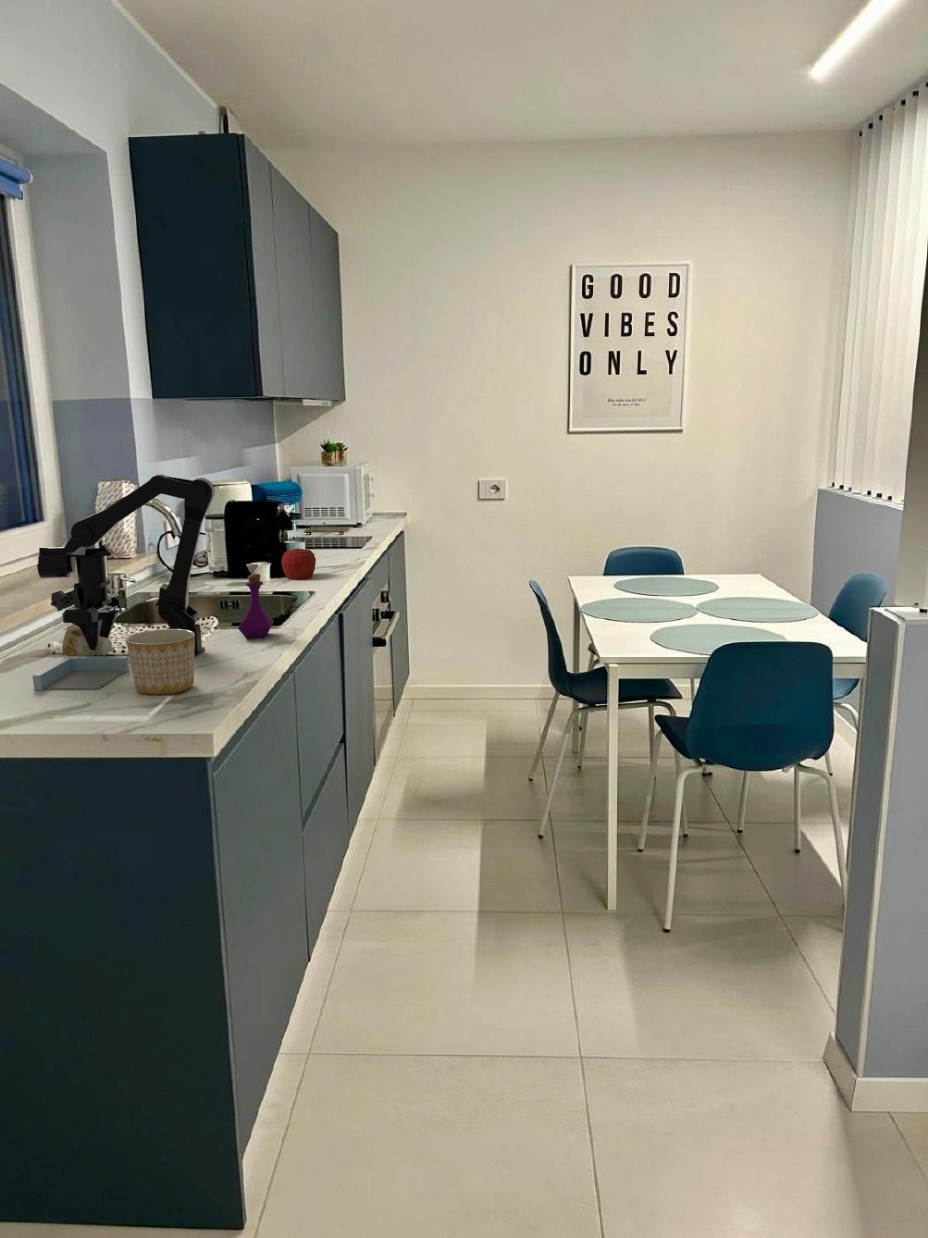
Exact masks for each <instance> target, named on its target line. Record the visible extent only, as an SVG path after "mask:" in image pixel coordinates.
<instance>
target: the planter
mask: <svg viewBox="0 0 928 1238" xmlns="http://www.w3.org/2000/svg"><path fill="white" fill-rule="evenodd" d="M126 646H127V647H126V648H127V652H128V656H129V657H128V659H129V662H130V668H131V673H132V677H133V679H132V680H133V683H134V684H133V685H134V687H135V689H136V690H137V691H138V692H139V693H140V694H144V695H150V696H162V695H163V696H164V695H170V694H171V695H172V694H178V693H181V692H184V691H186V690H188V689H190V688H191V687H192V686H193V684H194V682H195V656H194V649H195V634H194V632H192V631H189V630H183V629H168V628H165V629H164V628H163V629H162V628H161V629H153V630H144V631H141V632H136V633H133V634H131V635H129V636H127V637H126Z"/></svg>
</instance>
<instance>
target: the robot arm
mask: <svg viewBox="0 0 928 1238" xmlns="http://www.w3.org/2000/svg"><path fill="white" fill-rule="evenodd" d="M215 491H216V489H215V486H214V485H213V483H212V482H211V480H209V479H208V478H206V477H197V478H195V479H187V478H180V477H173V476H167V475H165V474H163V473H162V474H160V473H159V474H156V475H154V476H152V477H150V479H149V480H148V481H146V482H145V483H143V484H142V485H140V486H139V487H137V488H136V489H135V490H133V491H131V492H130V493H129V494H127V495H125V496H124V497H122V498H121V499H119V500H118V501H117V502H115V503H113V504H112V505H110V506H109V507H108V508H106V509H104V510H101V511H99V512H97V513H94V514H92V515H90V516H88V517H84V518H82V519H80V520H78V521H77V522H74V524H73V525H72V527H71V530H70V535H71V536H70V538H69V540H68V541H67V543H65V545H64V546H40V547H39V548H38V552H39V553H38V558H37V559H38V560H37V564H36V566H37V572H38V576H39V578H40V579H62V578H63V579H65V578H67V579H68V578H70V577H71V575H72V574H74V573H75V572H76V573H77V582H74V584H73V590H69V591H67V592H64V591H62V590H61V589H60V590H58V591H55V592H52V593H51V598H50V600H51V602H50V605H51V606H52V607H54V608H56V610H57V612H60V611H63V610H64V611H63V612H62V613H61V614H62V615H61V616H62V623H63V624H72V625H76V626H78V627H79V628H80V629H81V631H82V633H83V635H84V637H85V639H86V641H87V644H88V646H89V648H90V650H95V649H96V646H97V643H98V638H99V636H101V637H105V638H108V639H110V635H111V633H112V629H113V628H114V625H115V623H116V620H117V618H118V615H119V614H120V611H121V610H119V609H123V608H125V607H126V598H125V597H124V596H123V595H122V594H119V593H118V594H115V593H113V594H111V593H109V594H108V586H109V585H111V579H108V578H107V572H106V570H107V569H106V561H105V557H110V556H112V555H114V553H115V552H114V550H112V549H111V548H110V547H109V546H108V545H107V544H106V543H103V544H102V545H101V547H93V546H94V545H96V544H98V543H99V542H100V541H102V539H104V537H105V536H106V535H107V534H109V533H110V532H111V530H113V528H114V527H116V525H117V524H119V522H120V521H123V520H124V519H125V518H127V517H128V516H130V515H131V514H133V513H135V512H136V511H138V510H139V509H140V508H141V507H143V506H144V505H146V504H147V503H149V502H151V501H152V500H154V499H155V498H156V497H159V495H165V496H170V497H173V498H177V499H181V500H184V503H183V509H184V519H183V525H182V528H181V533H180V537H179V542H178V546H177V551H176V555H175V559H174V564H173V568H172V572H171V576H170V577H171V578H170V580H169V582H168V584H166V583H163V584H162V585H161V586H160V588H159V590H158V591H159V593H158V600H157V602H156V603H155V607H157V613H158V615H159V616H160V618H161V619H162V620H163V621H165V623H167V625H168V628H167V629H183V630H189V631H192V632H194V634H195V649H194V657H196V656H199V655H200V653H202V652H203V651H204V650H205V649H206V648H205V646H203V644H202V628H201V624H197V622H198V619H199V616H200V613H199V611H197V610H196V609H194V608H193V607H192V606H191V605H190V604H189V603H190V585H189V584H190V582H189V581H190V578H191V573H192V568H193V565H194V559H195V555H196V551H197V546H198V543H199V538H200V534H201V529H202V525H203V521H204V519H205V517H206V515H207V513H208V511H209V508H210V506H211V503H212V501H213V499H214V497H215V493H216V492H215ZM90 547H91V548H90ZM81 548H85V551H84V552H77V551H78V550H81ZM114 607H117V609H114ZM205 651H206V650H205Z"/></svg>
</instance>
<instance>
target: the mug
mask: <svg viewBox="0 0 928 1238" xmlns="http://www.w3.org/2000/svg"><path fill="white" fill-rule="evenodd" d="M63 636H64V637H63V640H62V647H61V648H62V652H63V654H64V655H65V656H66V657H90V656H94V655H96V656H102V657H106V656H107V655H108V654H109V653H110V652H114V648H112V647H113V642H112V641H111V639H110V638H105V637H101V636H99V638H98V643H97V646H96V649H95V650H90V648H89V646H88V644H87V641H86V639H85V637H84V635H83V633H82V631H81V629H80V628H79V627H78V626H76V625H75V624H73V625H70V626H68V627H67V629H66V631H65V632H64V635H63Z"/></svg>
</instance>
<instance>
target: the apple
mask: <svg viewBox="0 0 928 1238" xmlns="http://www.w3.org/2000/svg"><path fill="white" fill-rule="evenodd" d="M316 561H317V559H316V555H315V553H314V552H313V551H312V550H310V549H307V548H300V547H299V546H297V548H293V549H290V550H287V551H285V552H284V553H283V555H282V558H281V567H282V571H283V573H284V575H285V576H286V579H288V580H289V581H304V580H309V579H312V577H313V575H314V573H315V570H316Z"/></svg>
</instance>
